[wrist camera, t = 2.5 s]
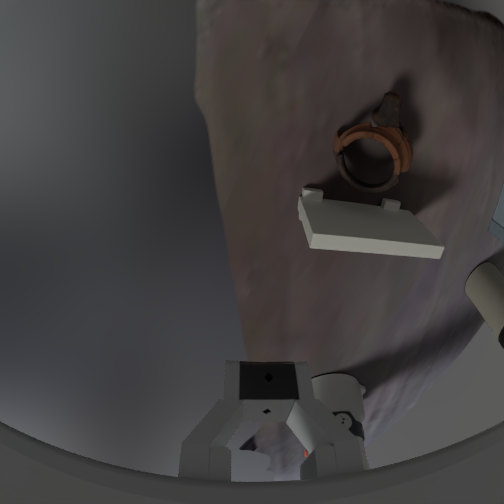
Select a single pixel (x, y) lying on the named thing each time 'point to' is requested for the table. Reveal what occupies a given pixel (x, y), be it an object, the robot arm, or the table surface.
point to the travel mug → (488, 296)
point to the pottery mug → (386, 134)
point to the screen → (364, 227)
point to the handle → (498, 219)
